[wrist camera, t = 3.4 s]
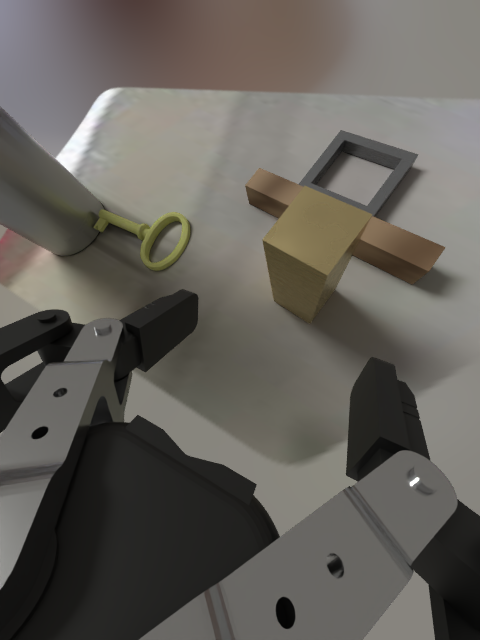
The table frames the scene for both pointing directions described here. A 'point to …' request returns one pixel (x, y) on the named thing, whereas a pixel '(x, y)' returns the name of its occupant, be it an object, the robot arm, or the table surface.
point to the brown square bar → (376, 242)
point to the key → (149, 235)
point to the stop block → (311, 250)
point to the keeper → (368, 151)
